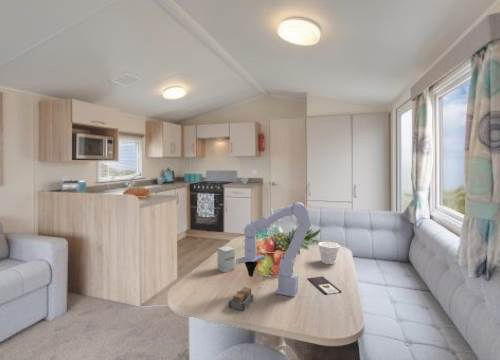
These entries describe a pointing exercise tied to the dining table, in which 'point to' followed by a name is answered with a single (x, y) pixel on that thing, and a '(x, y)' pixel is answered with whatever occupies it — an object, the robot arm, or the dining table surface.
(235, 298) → the slat
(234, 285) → the dining table surface
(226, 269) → the supplement box
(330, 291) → the chocolate bar
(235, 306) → the gray angular bracket
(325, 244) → the cup
